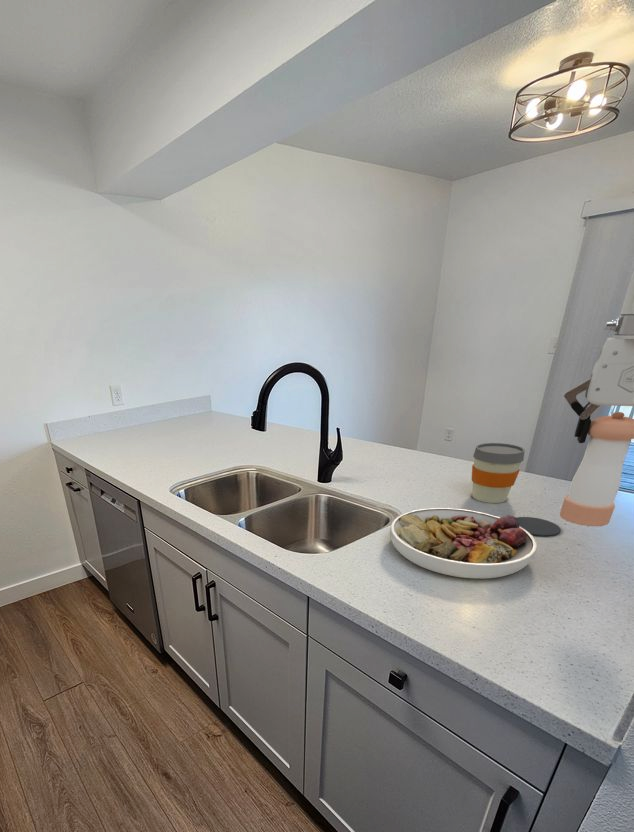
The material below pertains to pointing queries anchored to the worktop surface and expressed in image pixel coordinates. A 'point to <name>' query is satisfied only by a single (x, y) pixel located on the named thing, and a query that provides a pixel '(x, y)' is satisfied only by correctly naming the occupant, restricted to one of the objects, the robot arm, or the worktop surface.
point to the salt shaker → (599, 472)
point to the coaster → (538, 526)
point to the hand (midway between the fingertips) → (609, 442)
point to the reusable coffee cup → (495, 471)
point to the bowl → (463, 542)
